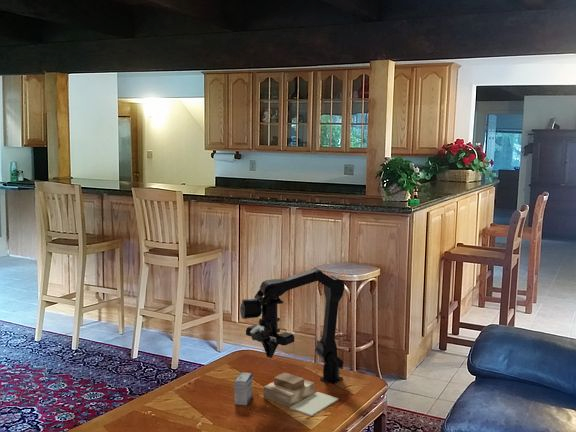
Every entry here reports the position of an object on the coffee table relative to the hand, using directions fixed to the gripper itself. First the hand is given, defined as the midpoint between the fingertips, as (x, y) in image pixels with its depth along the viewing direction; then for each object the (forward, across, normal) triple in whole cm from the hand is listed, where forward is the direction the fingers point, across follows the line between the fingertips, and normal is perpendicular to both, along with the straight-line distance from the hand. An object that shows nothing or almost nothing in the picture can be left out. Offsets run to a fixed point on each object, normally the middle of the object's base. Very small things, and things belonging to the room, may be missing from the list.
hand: (269, 357), depth 219 cm
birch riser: (+12, +9, 0) cm, 15 cm away
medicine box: (+12, -1, -13) cm, 18 cm away
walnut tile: (+8, +9, 0) cm, 12 cm away
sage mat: (+12, +20, 0) cm, 24 cm away
